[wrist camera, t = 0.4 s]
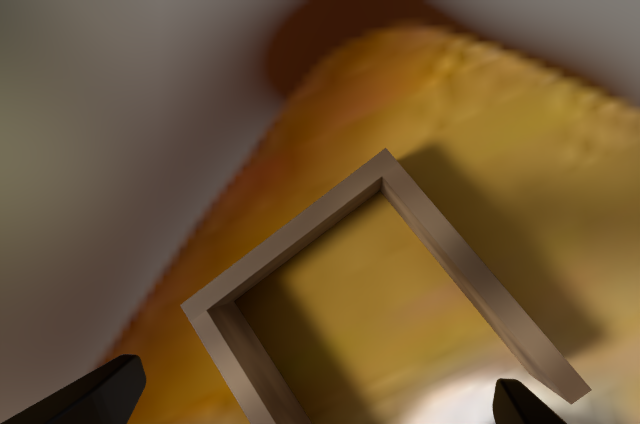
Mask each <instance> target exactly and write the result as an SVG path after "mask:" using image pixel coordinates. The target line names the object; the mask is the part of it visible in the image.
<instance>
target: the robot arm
mask: <svg viewBox="0 0 640 424" xmlns="http://www.w3.org/2000/svg"><path fill="white" fill-rule="evenodd" d="M145 385H146V375H145V372H144V369H143V366H142V362H141V359H140V357H139V356H138V355H132V354H123V355H120V356H118V357H117V358H115V359H113V360H111V361H109V362H108V363H106V364H104V365H102V366H101V367H99V368H97V369H95V370H94V371H92V372H90V373H88V374H87V375H85V376H83V377H81V378H80V379H78V380H76V381H74V382H73V383H71V384H69V385H68V386H66V387H64V388H62V389H60V390H59V391H57V392H55V393H53V394H52V395H50V396H48V397H46V398H44V399H43V400H41V401H40V402H37V403H36V404H34V405H32V406H30V407H29V408H27V409H25V410H24V411H22V412H20V413H18V414H16V415H15V416H13V417H11V418H10V419H8V420H6V421H4V422H2V423H1V424H127V422H128V420H129V418H130V416H131V414H132V412H133V410H134V408H135V406H136V404H137V402H138V400H139V398H140V396H141V394H142V392H143V390H144V388H145ZM493 415H494V419H495V423H496V424H567V423H566V422H565V421H564V420H563V419H561V418H560V417H559V416H558V415H557V414H556V413H555V412H554V411H552V410H551V409H550V408H549V407H548V406H547V405H546V404H545V403H544V402H542V401H541V400H540V399H539V398H538V397H537V396H536V395H535V394H533V393H532V392H531V391H530V390H529V389H528V388H527V387H526V386H525V385H523V384H522V383H521V382H520V381H518V380H516V379H503V378H500V379H498V380H497V382H496V387H495V393H494V399H493Z"/></svg>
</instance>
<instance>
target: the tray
mask: <svg viewBox="0 0 640 424" xmlns="http://www.w3.org/2000/svg"><path fill="white" fill-rule="evenodd" d="M378 191H381V192H382V194H383V195H384V196H385V197H386V199H387V200H388V201H389V202H390V203H391V205H392V206H393V207H394V208H395V210H396V211H397V212H398V213H399V214H400V216H401V217H402V218H403V219H404V221H405V222H406V223H407V224H408V225H409V227H410V228H411V229H412V230H413V232H414V233H415V234H416V235H417V236H418V238H419V239H420V240H421V241H422V243H423V244H424V245H425V246H426V247H427V249H428V250H429V251H430V252H431V254H432V255H433V256H434V257H435V259H436V260H437V261H438V262H439V263H440V265H441V266H442V267H443V268H444V270H445V271H446V272H447V273H448V274H449V276H450V277H451V278H452V279H453V281H454V282H455V283H456V284H457V285H458V287H459V288H460V289H461V290H462V292H463V293H464V294H465V295H466V296H467V298H468V299H469V300H470V301H471V303H472V304H473V305H474V306H475V308H476V309H477V310H478V311H479V312H480V314H481V315H482V316H483V317H484V319H485V320H486V321H487V322H488V323H489V325H490V326H491V327H492V328H493V330H494V331H495V332H496V333H497V334H498V336H499V337H500V338H501V339H502V341H503V342H504V343H505V344H506V345H507V347H508V348H509V349H510V350H511V352H512V353H513V354H514V355H515V357H516V358H517V359H518V360H519V361H520V363H521V364H522V365H523V366H524V368H525V369H526V370H527V371H528V372H529V374H530V375H531V376H533V377H534V378H535V379H537V380H538V381H540V382H541V383H542V384H544V385H545V386H547V387H548V388H549V389H551V390H552V391H553V392H555V393H556V394H558V395H559V396H560V397H562V398H563V399H565V400H566V401H567V402H569V403H570V404H573V403H574V402H576V401H577V400H578V399H580V398H581V397H583V396H584V395H585V394H587V393H588V392H590V391H591V388H590V387H589V386H588V385H587V384H586V383H585V381H584V380H583V379H582V378H581V377H580V376H579V374H578V373H577V372H576V371H575V370H574V368H573V367H572V366H571V365H570V364H569V363H568V361H567V360H566V359H565V358H564V357H563V356H562V354H561V353H560V352H559V351H558V350H557V348H556V347H555V346H554V345H553V344H552V343H551V341H550V340H549V339H548V338H547V337H546V336H545V334H544V333H543V332H542V331H541V330H540V329H539V327H538V326H537V325H536V324H535V323H534V321H533V320H532V319H531V318H530V317H529V316H528V314H527V313H526V312H525V311H524V310H523V309H522V307H521V306H520V305H519V304H518V303H517V301H516V300H515V299H514V298H513V297H512V296H511V294H510V293H509V292H508V291H507V290H506V289H505V287H504V286H503V285H502V284H501V283H500V282H499V280H498V279H497V278H496V277H495V276H494V274H493V273H492V272H491V271H490V270H489V269H488V267H487V266H486V265H485V264H484V263H483V262H482V260H481V259H480V258H479V257H478V256H477V254H476V253H475V252H474V251H473V250H472V249H471V247H470V246H469V245H468V244H467V243H466V242H465V240H464V239H463V238H462V237H461V236H460V235H459V233H458V232H457V231H456V230H455V229H454V227H453V226H452V225H451V224H450V223H449V222H448V220H447V219H446V218H445V217H444V216H443V215H442V213H441V212H440V211H439V210H438V209H437V207H436V206H435V205H434V204H433V203H432V202H431V200H430V199H429V198H428V197H427V196H426V195H425V193H424V192H423V191H422V190H421V189H420V188H419V186H418V185H417V184H416V183H415V182H414V180H413V179H412V178H411V177H410V176H409V175H408V173H407V172H406V171H405V170H404V169H403V168H402V166H401V165H400V164H399V163H398V162H397V160H396V159H395V158H394V157H393V156H392V155H391V153H390V152H389V151H388V150H387V149H386V148H385V149H384V150H382V151H381V152H380V153H378V154H377V155H376V156H374V157H373V158H372V159H371V160H369V161H368V162H367V163H365V164H364V165H363V166H361V167H360V168H359V169H357V170H356V171H355V172H354V173H352V174H351V175H350V176H348V177H347V178H346V179H344V180H343V181H342V182H341V183H339V184H338V185H337V186H335V187H334V188H333V189H331V190H330V191H329V192H327V193H326V194H325V195H324V196H322V197H321V198H320V199H318V200H317V201H316V202H314V203H313V204H312V205H310V206H309V207H308V208H307V209H305V210H304V211H303V212H301V213H300V214H299V215H297V216H296V217H295V218H294V219H292V220H291V221H290V222H288V223H287V224H286V225H284V226H283V227H282V228H280V229H279V230H278V231H277V232H275V233H274V234H273V235H271V236H270V237H269V238H267V239H266V240H265V241H264V242H262V243H261V244H260V245H258V246H257V247H256V248H254V249H253V250H252V251H250V252H249V253H248V254H247V255H245V256H244V257H243V258H241V259H240V260H239V261H237V262H236V263H235V264H234V265H232V266H231V267H230V268H228V269H227V270H226V271H224V272H223V273H222V274H220V275H219V276H218V277H217V278H215V279H214V280H213V281H211V282H210V283H209V284H207V285H206V286H205V287H204V288H202V289H201V290H200V291H198V292H197V293H196V294H194V295H193V296H192V297H190V298H189V299H188V300H187V301H185V302H184V303H183V304H181V305H180V306H181V307H182V309H183V311H184V312H185V314H186V316H187V317H188V319H189V321H190V322H191V324H192V326H193V328H194V329H195V331H196V333H197V334H198V336H199V338H200V339H201V341H202V343H203V344H204V346H205V348H206V349H207V351H208V353H209V354H210V356H211V358H212V359H213V361H214V363H215V364H216V366H217V368H218V369H219V371H220V373H221V375H222V376H223V378H224V380H225V381H226V383H227V385H228V386H229V388H230V390H231V391H232V393H233V395H234V396H235V398H236V400H237V401H238V403H239V405H240V406H241V408H242V410H243V411H244V413H245V415H246V417H247V418H248V420H249V422H250V423H251V424H312V423H311V421H310V419H309V418H308V416H307V415H306V413H305V412H304V410H303V408H302V407H301V405H300V404H299V402H298V401H297V399H296V397H295V396H294V394H293V393H292V391H291V390H290V388H289V386H288V385H287V383H286V382H285V380H284V379H283V377H282V375H281V374H280V372H279V371H278V369H277V368H276V366H275V365H274V363H273V361H272V360H271V358H270V357H269V355H268V354H267V352H266V350H265V349H264V347H263V346H262V344H261V343H260V341H259V339H258V338H257V336H256V335H255V333H254V332H253V330H252V328H251V327H250V325H249V324H248V322H247V321H246V319H245V317H244V316H243V314H242V313H241V311H240V310H239V308H238V307H237V305H236V303H235V302H234V301H235V300H236V299H238V298H239V297H240V296H242V295H243V294H244V293H246V292H247V291H248V290H250V289H251V288H252V287H254V286H255V285H256V284H257V283H259V282H260V281H261V280H263V279H264V278H265V277H267V276H268V275H269V274H271V273H272V272H273V271H275V270H276V269H277V268H278V267H280V266H281V265H282V264H284V263H285V262H286V261H288V260H289V259H290V258H292V257H293V256H294V255H296V254H297V253H298V252H299V251H301V250H302V249H303V248H305V247H306V246H307V245H309V244H310V243H311V242H313V241H314V240H315V239H317V238H318V237H319V236H320V235H322V234H323V233H324V232H326V231H327V230H328V229H330V228H331V227H332V226H334V225H335V224H336V223H338V222H339V221H340V220H342V219H343V218H344V217H345V216H347V215H348V214H349V213H351V212H352V211H353V210H355V209H356V208H357V207H359V206H360V205H361V204H363V203H364V202H365V201H366V200H368V199H369V198H370V197H372V196H373V195H374V194H376V193H377V192H378Z"/></svg>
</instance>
